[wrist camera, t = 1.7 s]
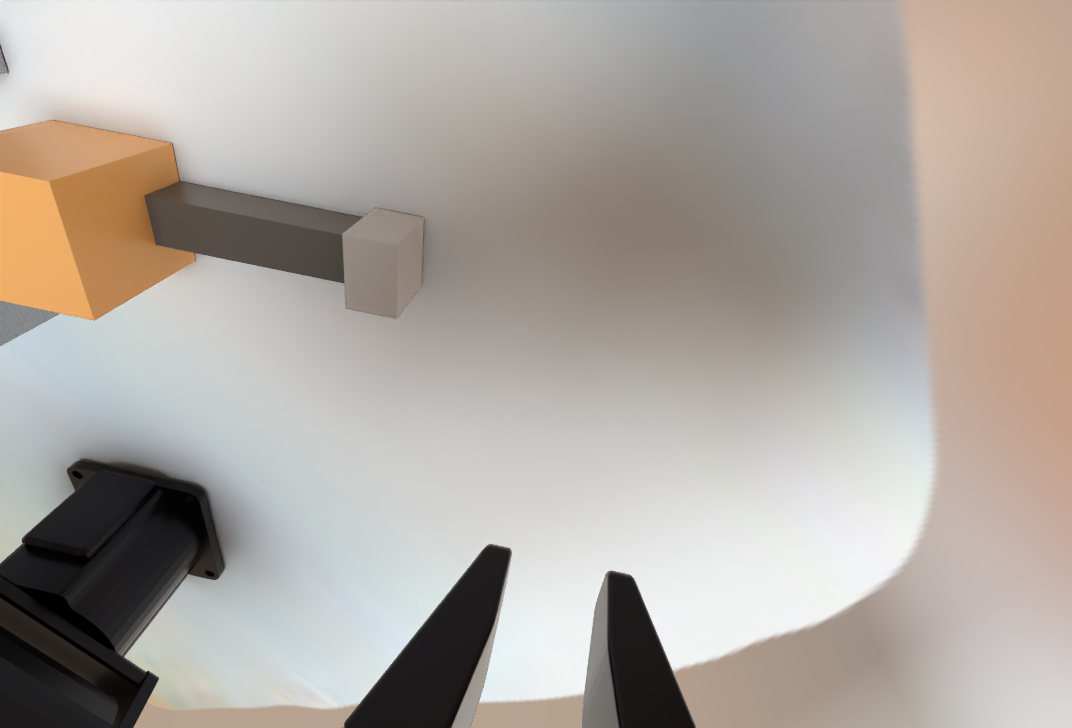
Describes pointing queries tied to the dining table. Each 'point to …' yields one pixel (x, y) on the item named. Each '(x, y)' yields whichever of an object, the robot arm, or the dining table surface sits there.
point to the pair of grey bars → (14, 319)
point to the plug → (170, 227)
